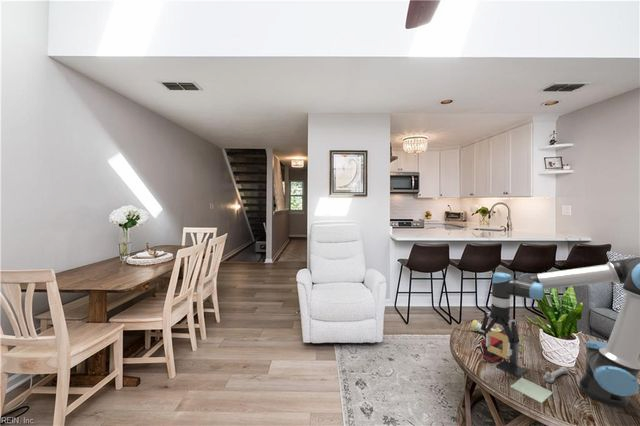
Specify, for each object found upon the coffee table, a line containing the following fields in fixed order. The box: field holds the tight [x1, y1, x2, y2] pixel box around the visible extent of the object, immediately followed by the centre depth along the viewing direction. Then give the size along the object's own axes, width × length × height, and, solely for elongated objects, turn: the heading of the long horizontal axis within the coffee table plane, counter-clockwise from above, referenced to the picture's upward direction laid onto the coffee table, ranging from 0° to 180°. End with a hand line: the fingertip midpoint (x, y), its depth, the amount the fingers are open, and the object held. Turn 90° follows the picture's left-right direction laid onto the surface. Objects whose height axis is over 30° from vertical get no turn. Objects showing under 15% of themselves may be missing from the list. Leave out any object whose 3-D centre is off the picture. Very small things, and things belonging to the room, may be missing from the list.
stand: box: [495, 343, 528, 379], centre depth 137 cm, size 10×17×16 cm, turn 122°
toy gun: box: [480, 326, 520, 364], centre depth 151 cm, size 5×24×15 cm, turn 112°
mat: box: [509, 377, 554, 404], centre depth 125 cm, size 12×12×1 cm
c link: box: [487, 330, 510, 360], centre depth 134 cm, size 9×2×10 cm, turn 31°
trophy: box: [470, 319, 527, 353], centre depth 170 cm, size 8×8×30 cm
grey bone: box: [543, 366, 569, 384], centre depth 134 cm, size 18×5×4 cm
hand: (498, 350), depth 134 cm, fingers closed on c link, 9 cm apart
